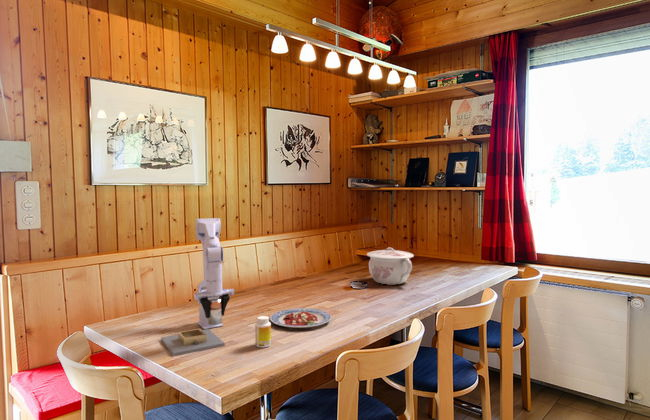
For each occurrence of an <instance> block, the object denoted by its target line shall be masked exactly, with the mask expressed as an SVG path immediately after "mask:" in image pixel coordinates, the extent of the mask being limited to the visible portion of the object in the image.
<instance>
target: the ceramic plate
mask: <svg viewBox="0 0 650 420" xmlns="http://www.w3.org/2000/svg"><path fill="white" fill-rule="evenodd" d="M269 320H270V322H272V323H273V324H275V325H277V326H281V327H287V328H292V329H303V328H304V329H305V328H306V329H307V328H312V327H313V328H314V327H318V326H323V325H325V324H327V323H328V322H330V321H331V320H332V315H331V314H330V313H329V312H327V311H325V310H321V309H316V308H309V307H308V308H307V307H306V308H305V307H304V308H302V307H301V308H300V307H297V308H296V307H295V308H287V309H282V310H280V311H279V310H278V311H277V312H274V313H273V314H271V315H270V317H269Z"/></svg>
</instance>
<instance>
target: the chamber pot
mask: <svg viewBox="0 0 650 420" xmlns="http://www.w3.org/2000/svg"><path fill="white" fill-rule="evenodd" d="M366 256H367V257H369V258H370V259H369V261H368V269H369V270H368V271H369V274H370V275H371V277H372V279H373V281H375V283H378V284H380V283H381V284H380V285H383V284H387V285H386V286H397V285H396V284H398V285H401V284H404V283H405V282H406V281H407V279H408V278H409V276H410V274H411V271H412V270H413V263H412V261H411V258H414V257H415V254H413V253H412V252H409V251H404V250H398V249H397V250H396V249H394V248H393V247H387V248H385V249H379V250H378V249H377V250H373V251H369V252H367V253H366Z"/></svg>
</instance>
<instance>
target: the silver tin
mask: <svg viewBox="0 0 650 420" xmlns="http://www.w3.org/2000/svg"><path fill="white" fill-rule="evenodd" d="M208 300H209V301H210V304H209V318H208V324H210V325H218V324H223V316H222V298H221V297H211V298H208Z"/></svg>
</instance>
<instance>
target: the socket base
mask: <svg viewBox="0 0 650 420" xmlns="http://www.w3.org/2000/svg"><path fill="white" fill-rule="evenodd" d="M201 330H202V331H203V332H204V333H205V334H206V335H207V342H201V343H198V344H197V345H194V344H191V345H186V346H184V345H183V344H182V343H181V342H180V341H179V340H178V334H172V335H168V336H163V337H160V340H161V342H162V343H163V344H164V346H165V347H166V349H167V350H168V351H169V353H170V354H171V355H172V356H173V357H176V356H181V355H186V354H190V353H194V352H195V353H196V352H201V351H204V350H205V351H207V350H210V349H214V348H215V349H216V348H220V347H224V346H225V344H226V343H225V342H224V341H223V340H222V339H221V338H220V337H219V336H217V334H215V333H214V332H213V331H212V330H211V329H210V328H208V329H201Z"/></svg>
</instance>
